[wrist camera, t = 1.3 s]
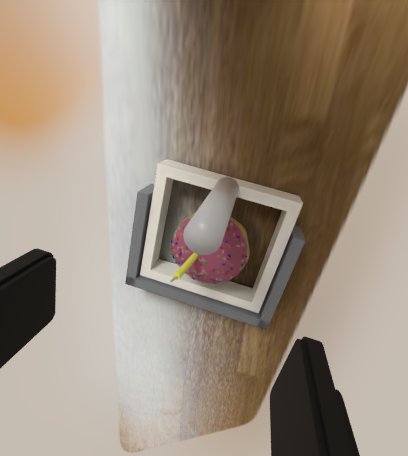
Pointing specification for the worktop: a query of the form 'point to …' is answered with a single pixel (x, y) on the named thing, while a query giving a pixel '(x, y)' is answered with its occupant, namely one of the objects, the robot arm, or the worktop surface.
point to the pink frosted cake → (212, 255)
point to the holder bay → (201, 301)
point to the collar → (215, 230)
